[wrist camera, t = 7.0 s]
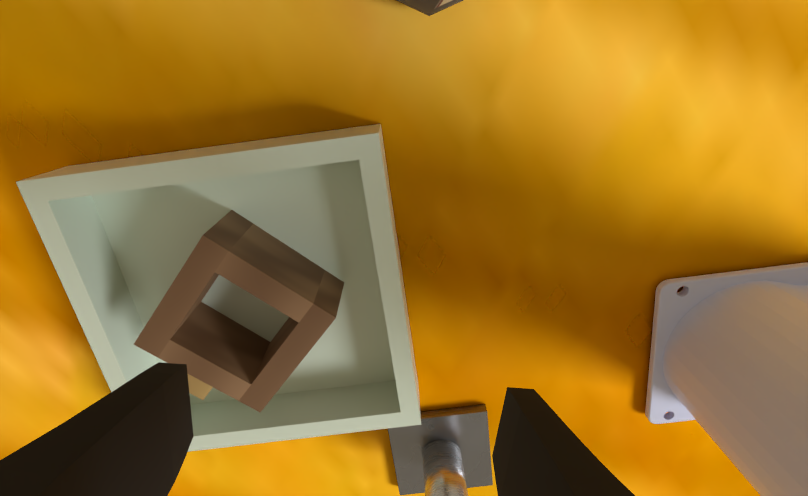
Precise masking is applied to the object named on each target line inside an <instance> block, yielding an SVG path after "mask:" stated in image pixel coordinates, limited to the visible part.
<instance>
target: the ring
mask: <svg viewBox="0 0 808 496" xmlns="http://www.w3.org/2000/svg"><path fill="white" fill-rule="evenodd" d="M219 275H221V276H222V277H224V278H226V279H227V280H229V281H231V282H232V283H234V284H235V285H237V286H239V287H240V288H242V289H244V290H245V291H247V292H249V293H250V294H252V295H254V296H255V297H257V298H259V299H260V300H262V301H264V302H265V303H267V304H269V305H270V306H272V307H274V308H275V309H277V310H278V311H280V312H282V313H283V314H285V315H287V316H288V317H289V318H288V319H287V321H286V322H285V323H284V325H283V326H282V327H281V329H280V330H279V331H278V333H277V334H276V335H275V337H274V338H273V339H272V341H271V342H270V341H268V340H266V339H265V338H263V337H261V336H259V335H258V334H256V333H254V332H253V331H251V330H249V329H247V328H246V327H244V326H242V325H240V324H239V323H237V322H235V321H234V320H232V319H230V318H228V317H227V316H225V315H223V314H222V313H220V312H218V311H216V310H215V309H213V308H211V307H210V306H208V305H206V304H204V303H203V302H201V301H202V300H203V298H204V297H205V295H206V294H207V292H208V291H209V289H210V288H211V286H212V285H213V283H214V282H215V280H216V279H217V277H218V276H219ZM343 286H344V282H343V281H341V280H340V279H338V278H337V277H335V276H334V275H332V274H331V273H329V272H327V271H326V270H324V269H323V268H321V267H320V266H318V265H317V264H315V263H314V262H312V261H311V260H309V259H307V258H306V257H304V256H303V255H301V254H300V253H298V252H297V251H295V250H294V249H292V248H290V247H289V246H287V245H286V244H284V243H283V242H281V241H280V240H278V239H277V238H275V237H273V236H272V235H270V234H269V233H267V232H266V231H264V230H263V229H261V228H260V227H258V226H256V225H255V224H253V223H252V222H250V221H249V220H247V219H246V218H244V217H243V216H241V215H239V214H238V213H236V212H235V211H233V210H231V211H230V212H228V213H227V214H226V215H225V216H224V217H223V218H222V219H220V220H219V221H218V222H217V223H216V224H215V225H214V226H213V227H211V228H210V229H209V230H208V231H207V232H206V233H205V234H203V236H202V237H201V239H200V240H199V242H198V243H197V245H196V247H195V248H194V250H193V251H192V253H191V254H190V256H189V258H188V259H187V261H186V262H185V264H184V266H183V267H182V269H181V270H180V272H179V273H178V275H177V277H176V278H175V280H174V281H173V283H172V284H171V286H170V288H169V289H168V291H167V292H166V294H165V295H164V297H163V299H162V300H161V302H160V303H159V305H158V307H157V308H156V310H155V311H154V313H153V314H152V316H151V318H150V319H149V321H148V322H147V324H146V325H145V327H144V329H143V330H142V332H141V333H140V335H139V337H138V338H137V340H136V341H135V343H134V344H133V345H135V346H137V347H139V348H141V349H143V350H145V351H146V352H148V353H150V354H152V355H154V356H156V357H158V358H159V359H161V360H163V361H165V362H167V363H175V364H187V373H188V384H189V393H190V394H192V395H194V396H196V397H198V398H200V399H202V400H204V399H205V397H206V396H207V395H208V393H209V392H210V390H211V389H212V388H215V389H217V390H219V391H221V392H223V393H225V394H226V395H228V396H230V397H232V398H234V399H236V400H238V401H240V402H241V403H243V404H245V405H247V406H249V407H251V408H253V409H254V410H256V411H258V412H261V411H262V410H263V409H264V407H265V406H266V405H267V404H268V402H269V401H270V400H271V399H272V397H273V396H274V395H275V394H276V392H277V391H278V390H279V389H280V387H281V386H282V385H283V384H284V382H285V381H286V380H287V379H288V377H289V376H290V375H291V374H292V372H293V371H294V370H295V369H296V367H297V366H298V365H299V364H300V362H301V361H302V360H303V359H304V357H305V356H306V355H307V354H308V352H309V351H310V350H311V349H312V347H313V346H314V345H315V344H316V342H317V341H318V340H319V339H320V337H321V336H322V335H323V334H324V332H325V331H326V330H327V329H328V327H329V326H330V325H331V324H332V322H333V321H334V320H335V319H336V316H337V312H338V307H339V303H340V299H341V295H342V290H343Z"/></svg>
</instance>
